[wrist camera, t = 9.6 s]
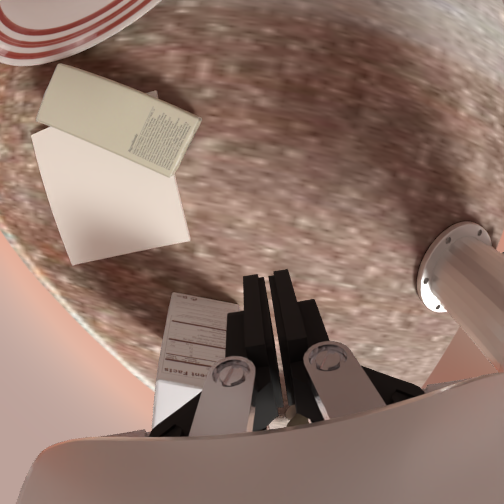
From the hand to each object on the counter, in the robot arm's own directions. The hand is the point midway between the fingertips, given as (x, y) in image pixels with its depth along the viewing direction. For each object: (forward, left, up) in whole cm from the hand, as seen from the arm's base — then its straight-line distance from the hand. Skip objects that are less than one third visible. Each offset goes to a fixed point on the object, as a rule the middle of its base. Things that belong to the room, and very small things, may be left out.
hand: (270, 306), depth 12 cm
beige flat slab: (+12, -3, -18) cm, 22 cm away
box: (+3, -4, -15) cm, 16 cm away
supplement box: (+7, +14, -18) cm, 24 cm away
